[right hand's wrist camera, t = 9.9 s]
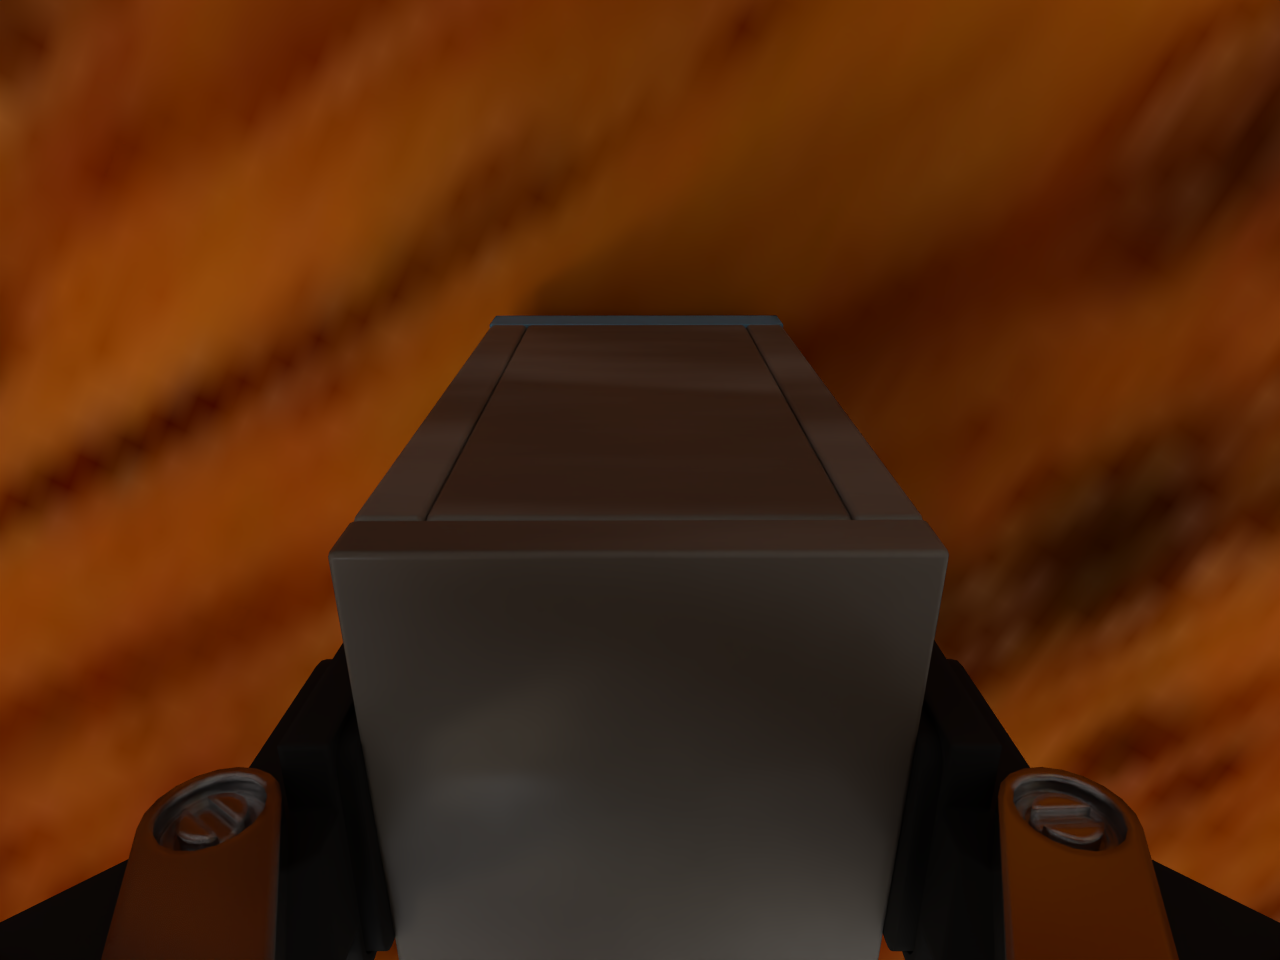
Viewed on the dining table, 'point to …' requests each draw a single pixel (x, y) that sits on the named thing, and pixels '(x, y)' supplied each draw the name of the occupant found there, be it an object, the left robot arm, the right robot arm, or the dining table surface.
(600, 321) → the cabinet
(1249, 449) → the dining table surface
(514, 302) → the dining table surface
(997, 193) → the dining table surface
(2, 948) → the right robot arm
